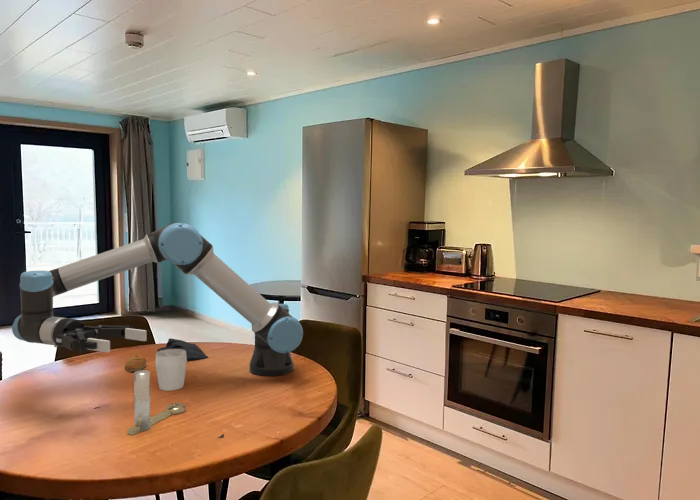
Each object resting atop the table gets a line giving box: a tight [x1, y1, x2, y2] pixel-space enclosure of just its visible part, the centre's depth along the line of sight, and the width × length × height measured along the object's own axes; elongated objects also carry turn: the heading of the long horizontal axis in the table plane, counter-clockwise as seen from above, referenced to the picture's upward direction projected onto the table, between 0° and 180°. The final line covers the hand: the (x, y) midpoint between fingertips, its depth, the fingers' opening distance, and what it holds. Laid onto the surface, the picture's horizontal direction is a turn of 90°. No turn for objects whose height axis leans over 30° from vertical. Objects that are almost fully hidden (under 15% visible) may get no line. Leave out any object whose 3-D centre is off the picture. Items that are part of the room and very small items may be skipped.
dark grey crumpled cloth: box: [157, 338, 209, 361], centre depth 198 cm, size 15×22×5 cm
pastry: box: [124, 354, 147, 373], centre depth 179 cm, size 9×7×4 cm
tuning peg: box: [127, 369, 186, 436], centre depth 131 cm, size 18×5×14 cm, turn 159°
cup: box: [154, 349, 188, 392], centre depth 156 cm, size 9×9×12 cm
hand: (128, 341), depth 129 cm, fingers open, 11 cm apart
